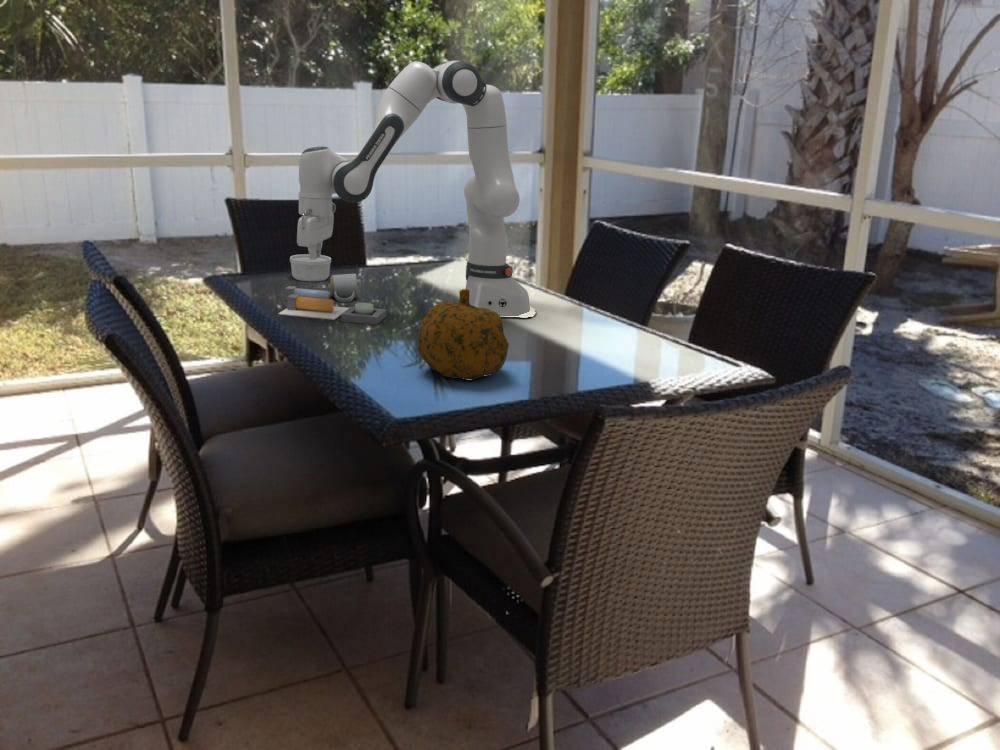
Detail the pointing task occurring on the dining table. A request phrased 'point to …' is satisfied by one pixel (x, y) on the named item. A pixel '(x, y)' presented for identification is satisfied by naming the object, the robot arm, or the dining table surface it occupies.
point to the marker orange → (309, 303)
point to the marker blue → (306, 293)
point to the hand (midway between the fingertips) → (314, 258)
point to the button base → (363, 316)
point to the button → (364, 308)
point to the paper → (315, 313)
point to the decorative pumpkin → (462, 339)
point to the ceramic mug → (343, 287)
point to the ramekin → (310, 267)
